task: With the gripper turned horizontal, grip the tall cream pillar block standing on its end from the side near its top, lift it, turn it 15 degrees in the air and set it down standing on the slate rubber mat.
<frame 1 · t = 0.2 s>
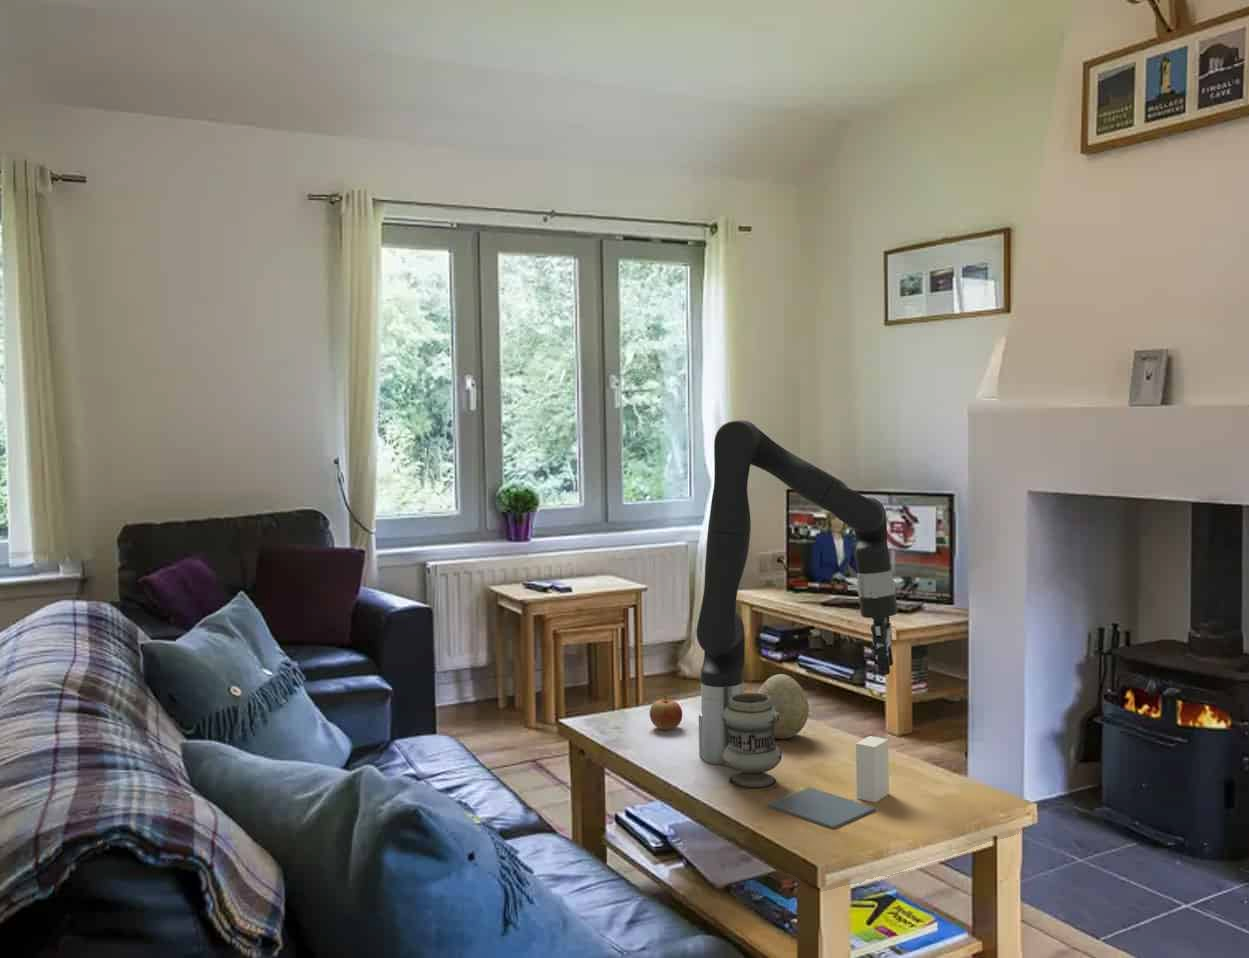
hand: (886, 669, 220), 22 cm above the table, tool pointing down, fingers open, 8 cm apart
fossilized egg: (781, 738, 249), on the table
tall cream pillar block: (872, 796, 209), on the table
apothecary jar: (752, 783, 218), on the table
apple: (666, 729, 258), on the table
mat: (821, 808, 203), on the table
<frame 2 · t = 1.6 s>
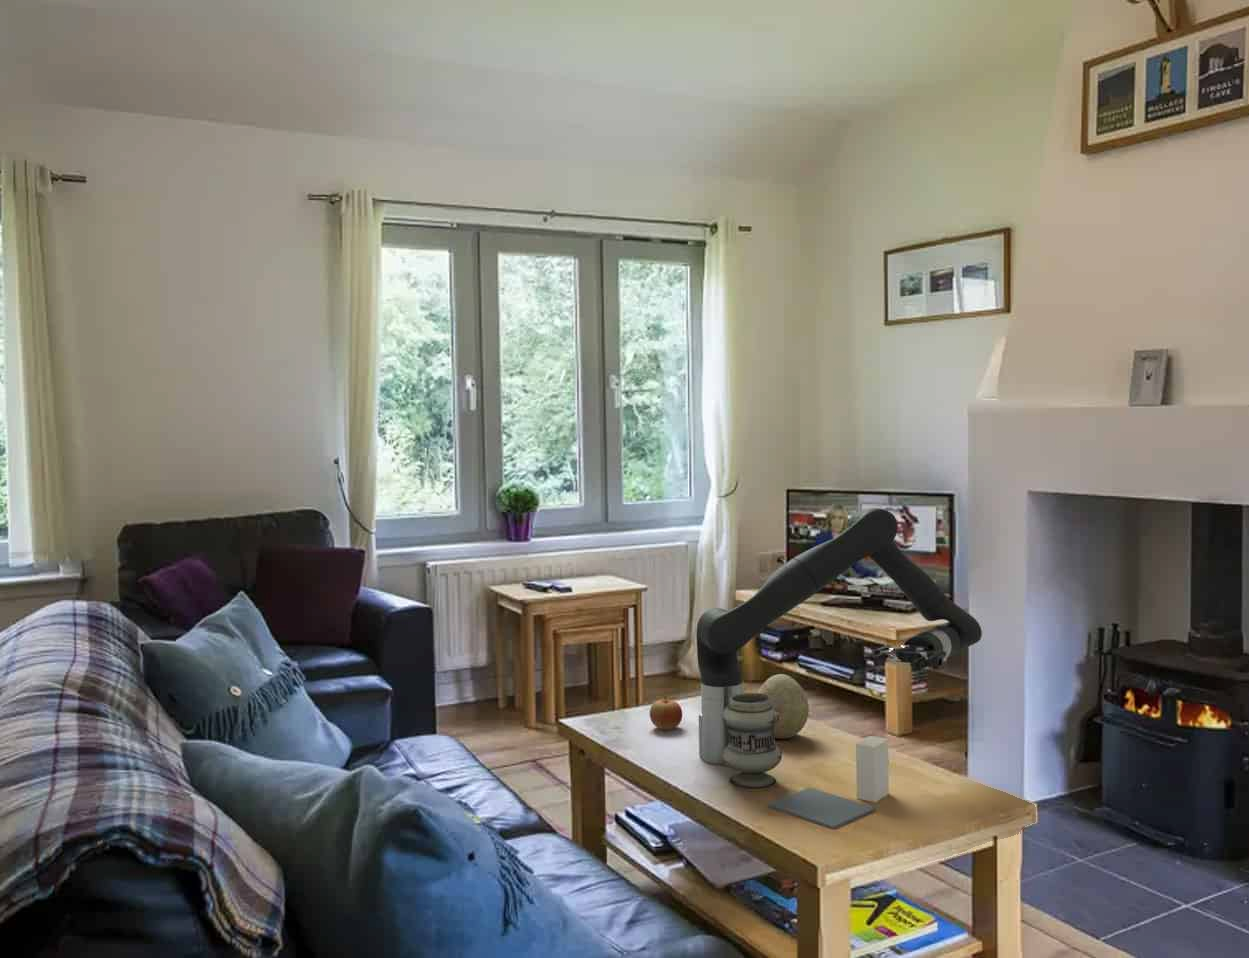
hand: (895, 664, 216), 24 cm above the table, tool horizontal, fingers open, 8 cm apart
nothing on the table moved.
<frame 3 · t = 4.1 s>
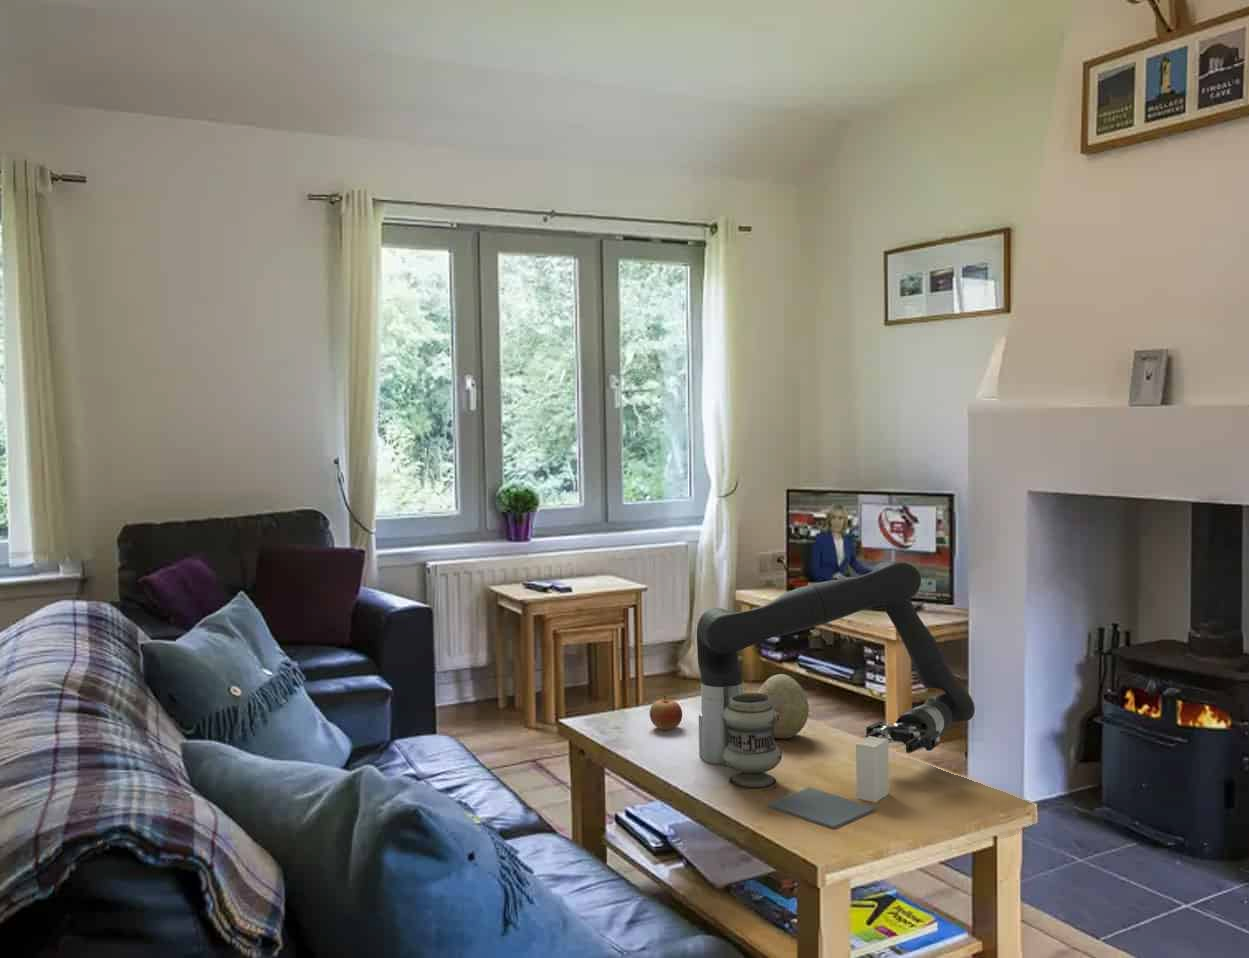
hand: (887, 744, 214), 8 cm above the table, tool horizontal, fingers open, 8 cm apart
nothing on the table moved.
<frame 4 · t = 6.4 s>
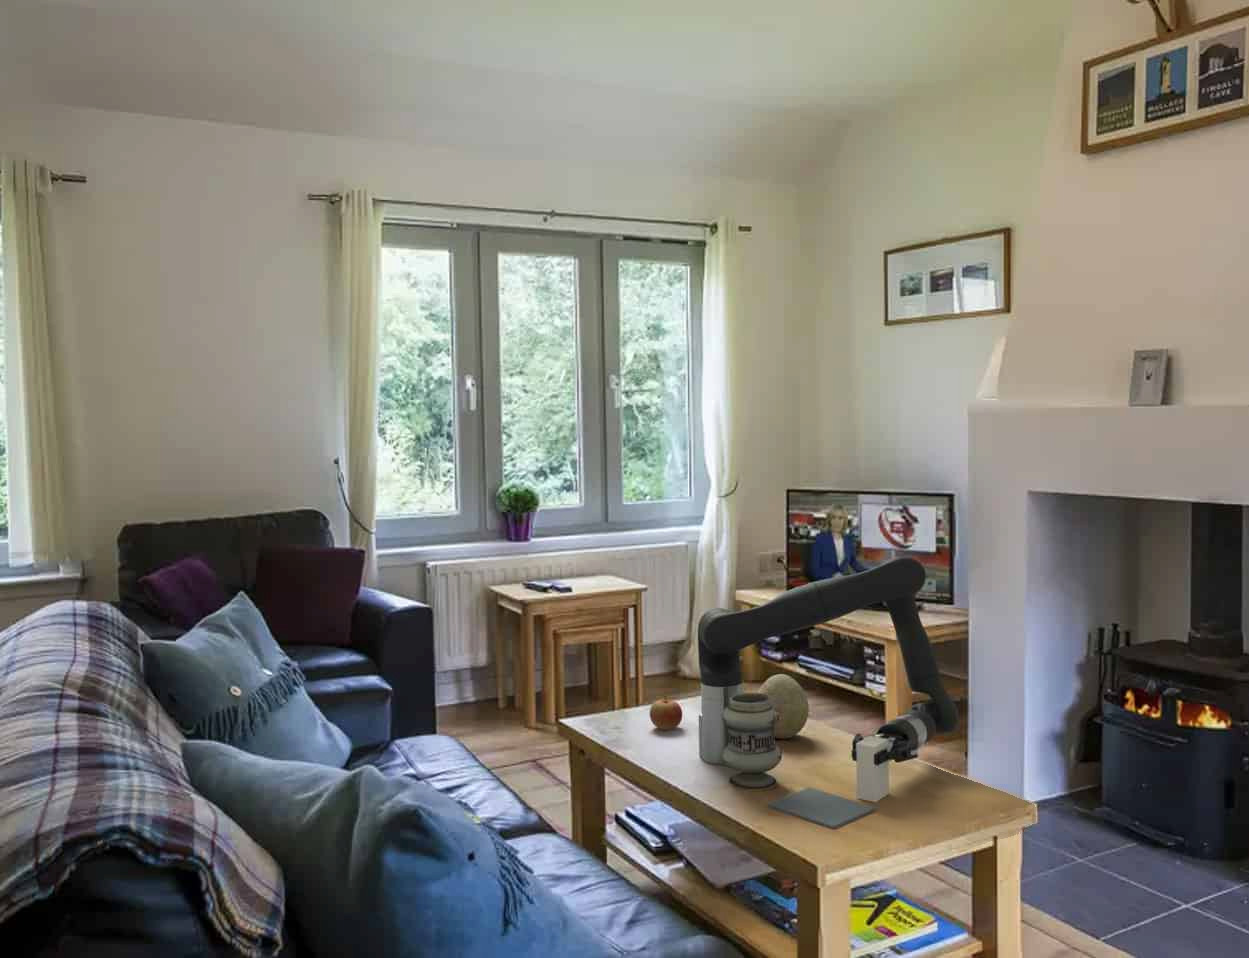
hand: (865, 757, 206), 9 cm above the table, tool horizontal, fingers closed on tall cream pillar block, 4 cm apart
tall cream pillar block: (873, 795, 209), on the table, touching gripper
everything else where it was.
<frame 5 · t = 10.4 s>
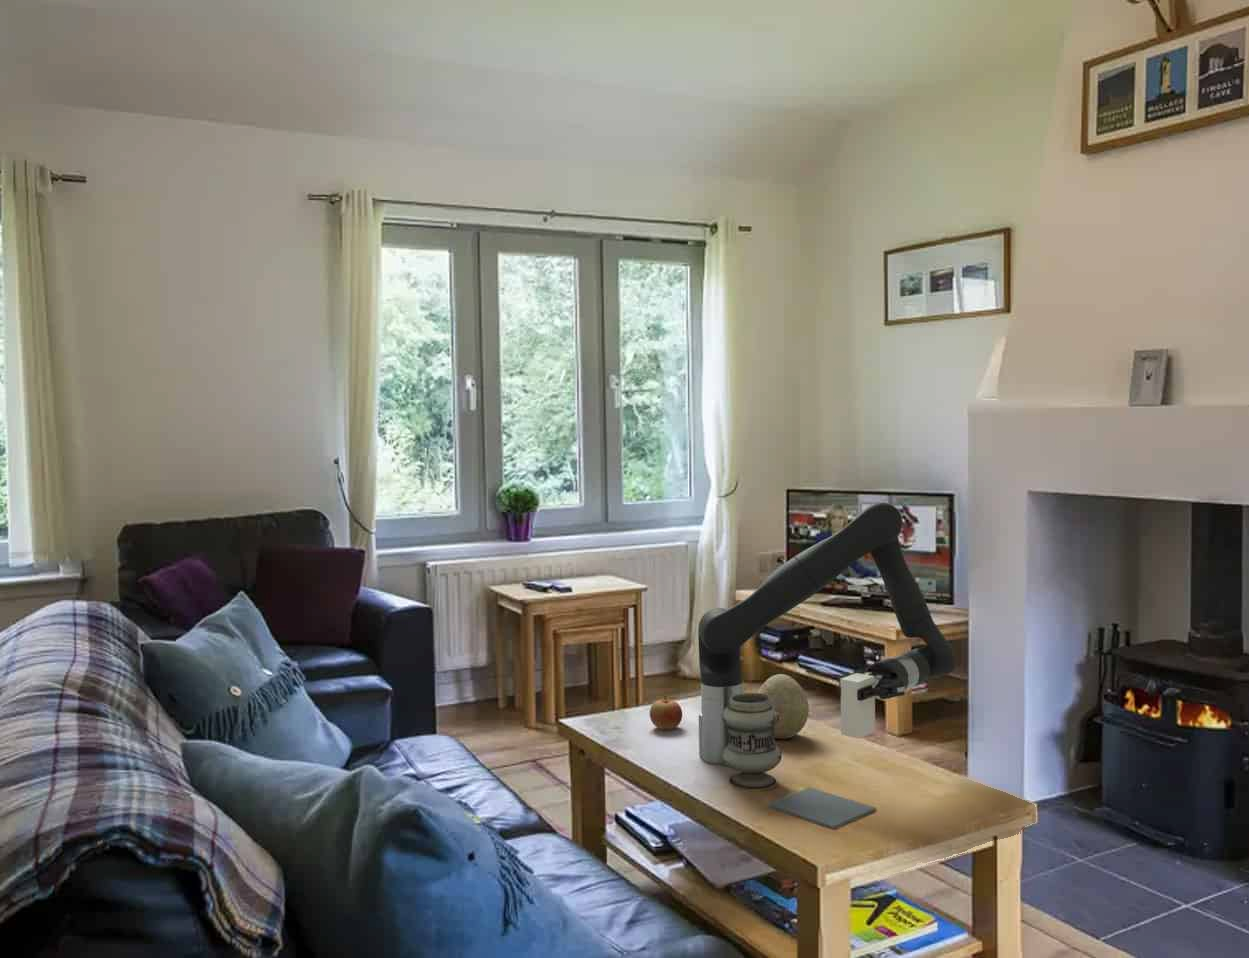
hand: (848, 693, 203), 22 cm above the table, tool horizontal, fingers closed on tall cream pillar block, 4 cm apart
tall cream pillar block: (858, 733, 206), point 13 cm above the table, touching gripper
everything else where it was.
when the fingers open (10 cm above the table, at t = 14.7 s): tall cream pillar block stays where it is, resting on mat.
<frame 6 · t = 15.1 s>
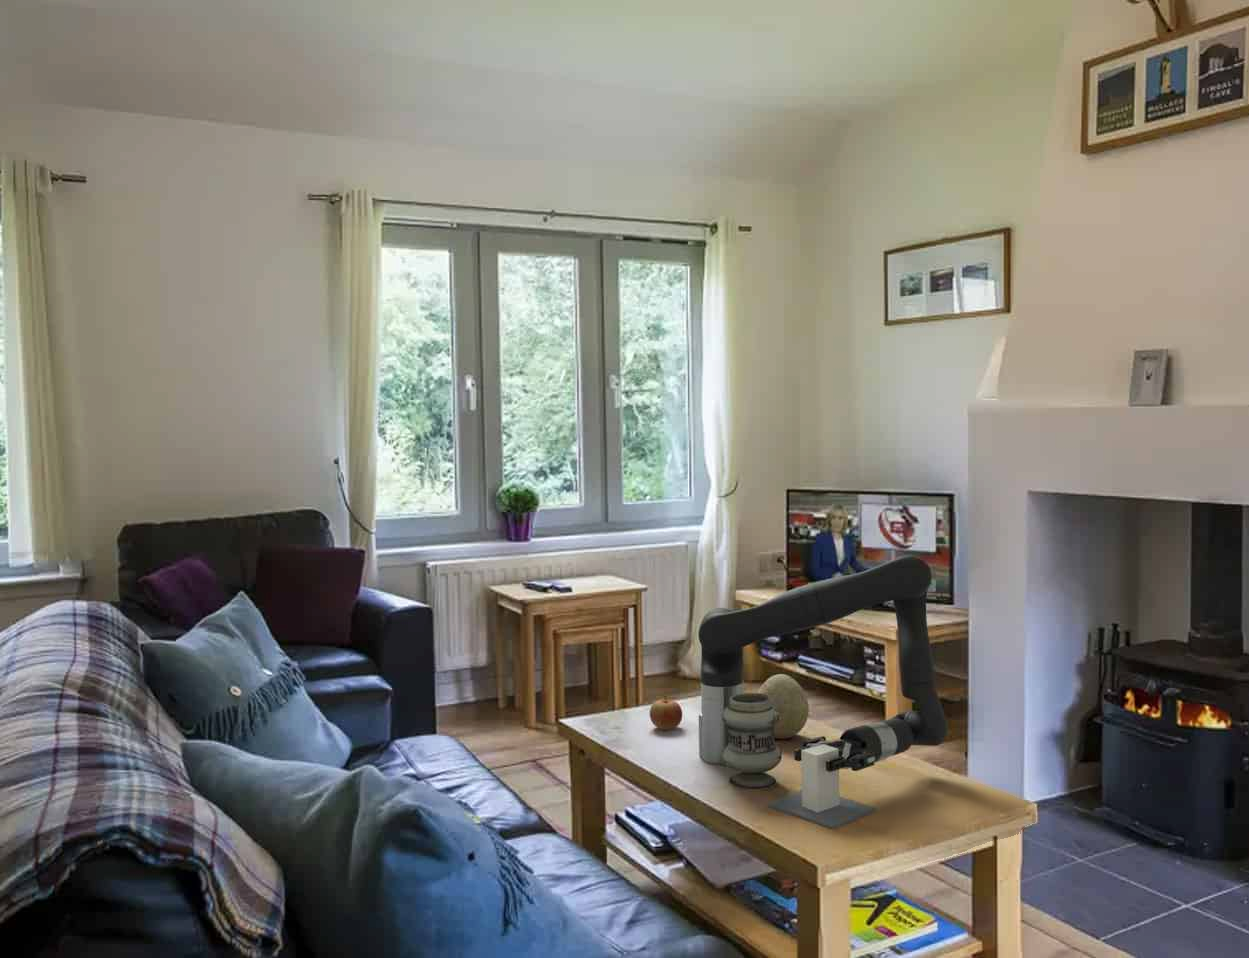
hand: (811, 761, 201), 10 cm above the table, tool horizontal, fingers open, 8 cm apart
tall cream pillar block: (820, 805, 203), resting on mat
everything else where it was.
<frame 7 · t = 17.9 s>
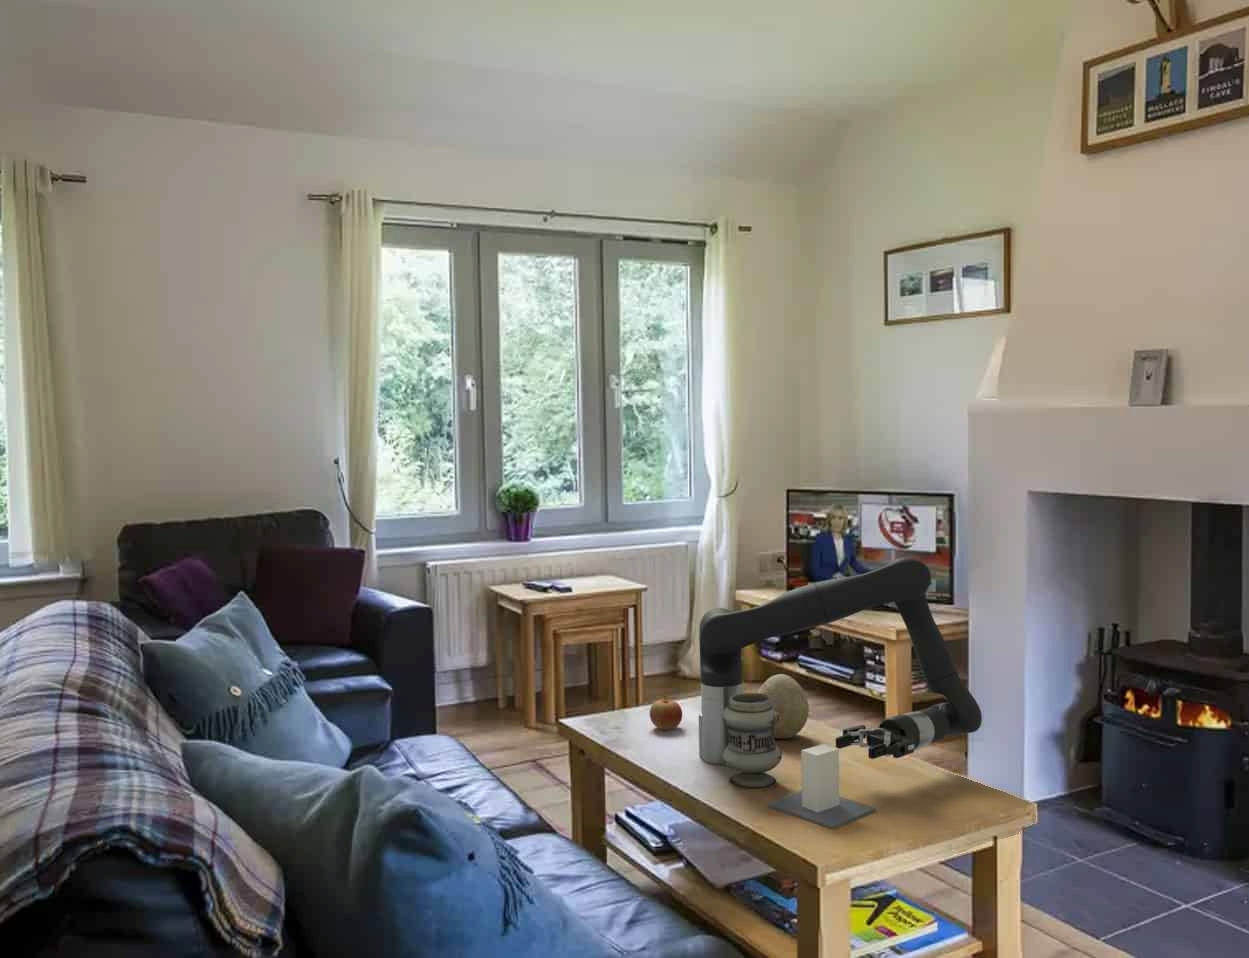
hand: (853, 748, 208), 10 cm above the table, tool horizontal, fingers open, 8 cm apart
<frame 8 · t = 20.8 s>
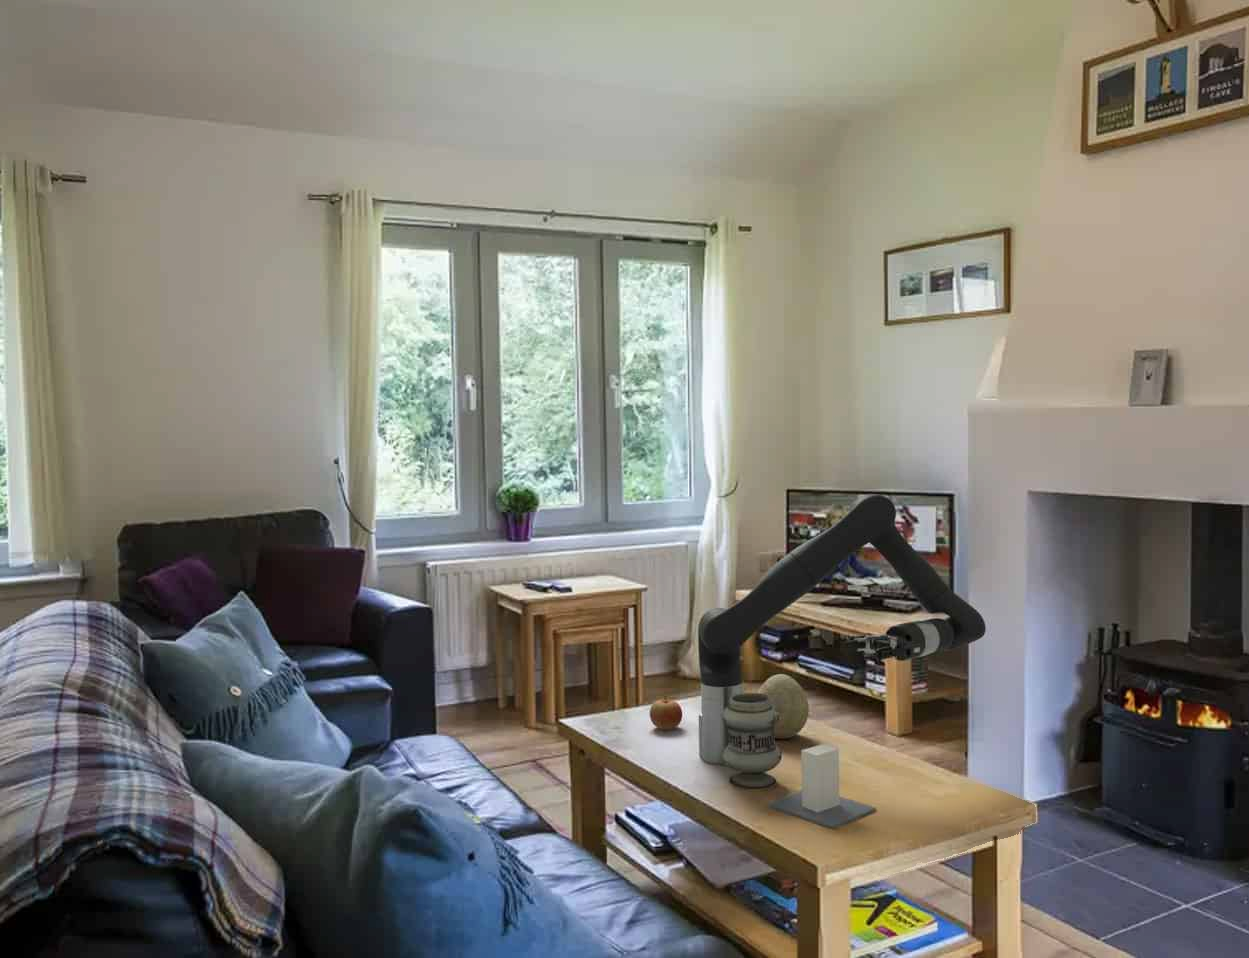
hand: (860, 651, 212), 28 cm above the table, tool horizontal, fingers open, 8 cm apart
at the end: tall cream pillar block inside the target area on the mat (0.0 cm from its centre), point 0.5 cm above the mat's base; tall cream pillar block tilted 0°; the gripper is holding nothing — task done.
